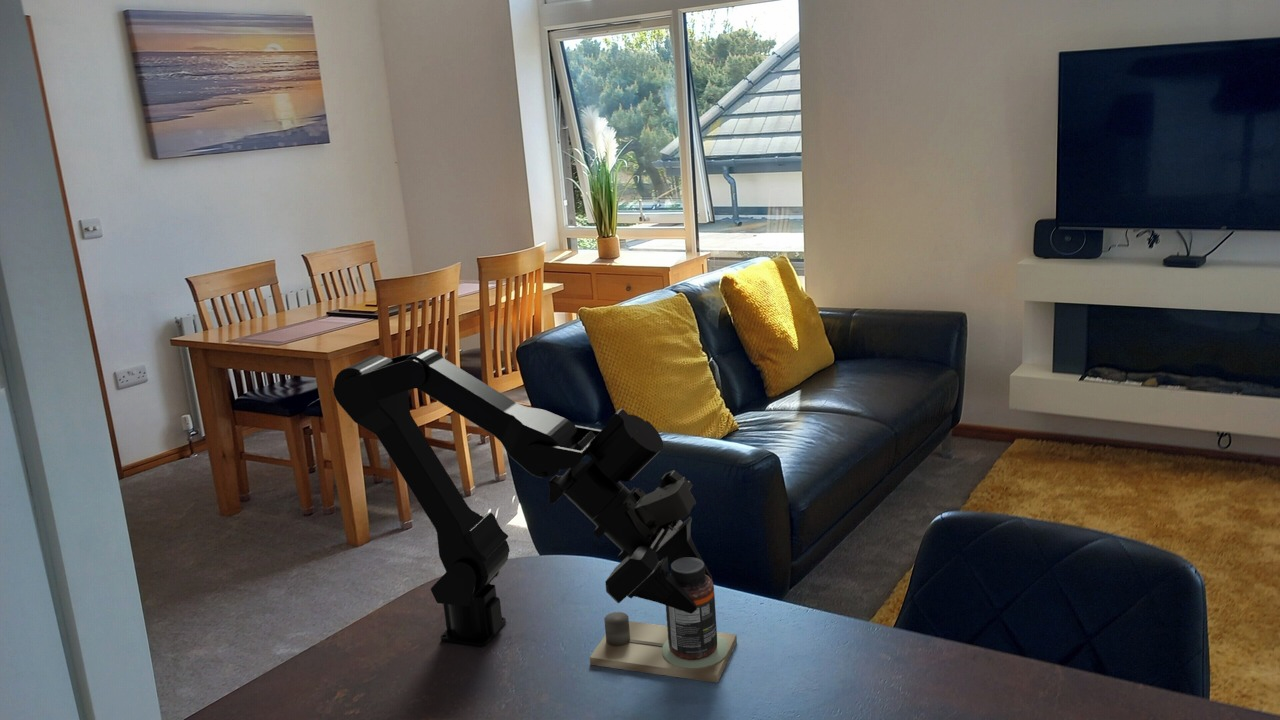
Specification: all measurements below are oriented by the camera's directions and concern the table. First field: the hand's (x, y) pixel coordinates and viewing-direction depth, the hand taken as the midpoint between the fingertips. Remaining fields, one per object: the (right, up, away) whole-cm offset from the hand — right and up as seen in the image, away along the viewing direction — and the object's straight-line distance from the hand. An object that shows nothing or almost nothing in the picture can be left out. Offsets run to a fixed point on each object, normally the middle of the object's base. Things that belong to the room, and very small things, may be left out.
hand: (702, 595), depth 116 cm
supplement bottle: (-1, -7, +2) cm, 8 cm away
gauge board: (-4, -8, +4) cm, 10 cm away
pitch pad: (-1, -8, +3) cm, 9 cm away
